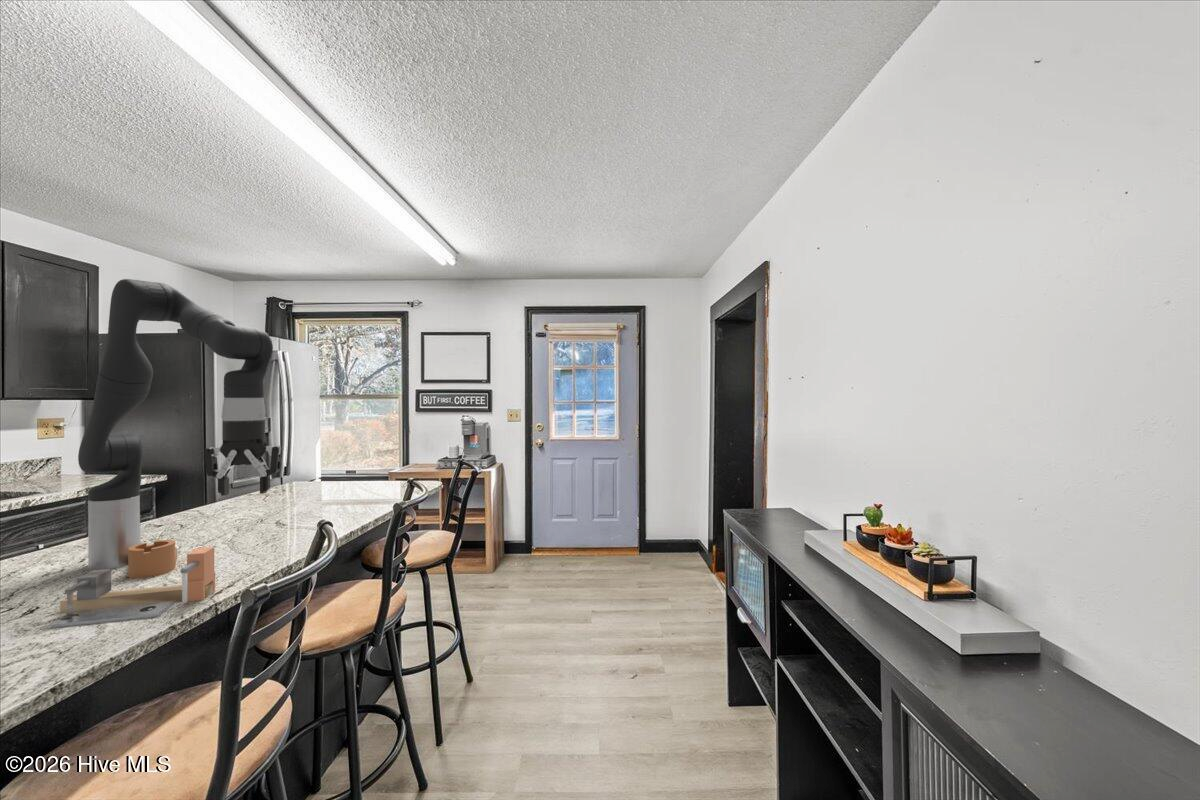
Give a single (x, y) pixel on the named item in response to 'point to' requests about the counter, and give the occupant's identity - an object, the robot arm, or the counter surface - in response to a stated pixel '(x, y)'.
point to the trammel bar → (115, 593)
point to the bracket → (151, 559)
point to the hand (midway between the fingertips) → (244, 493)
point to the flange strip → (113, 614)
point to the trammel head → (198, 574)
